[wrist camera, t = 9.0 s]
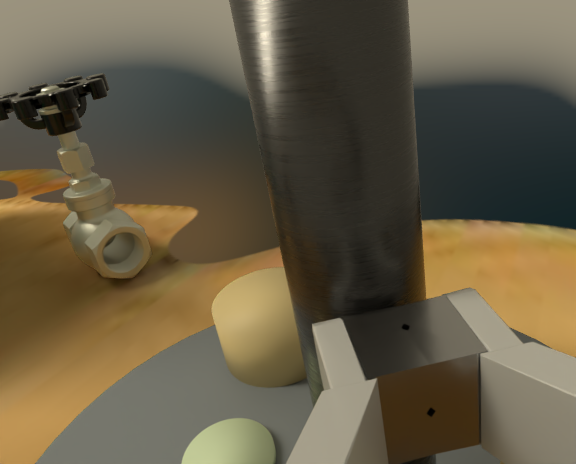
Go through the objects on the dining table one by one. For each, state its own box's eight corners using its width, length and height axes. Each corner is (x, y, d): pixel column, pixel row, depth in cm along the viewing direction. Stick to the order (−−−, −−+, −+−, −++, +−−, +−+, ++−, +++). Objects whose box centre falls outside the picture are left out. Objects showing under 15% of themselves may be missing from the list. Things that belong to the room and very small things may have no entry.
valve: (83, 305, 31) (-2, 108, 25) (54, 270, 36) (-22, 99, 30) (180, 259, 34) (123, 74, 29) (141, 232, 39) (86, 71, 33)
